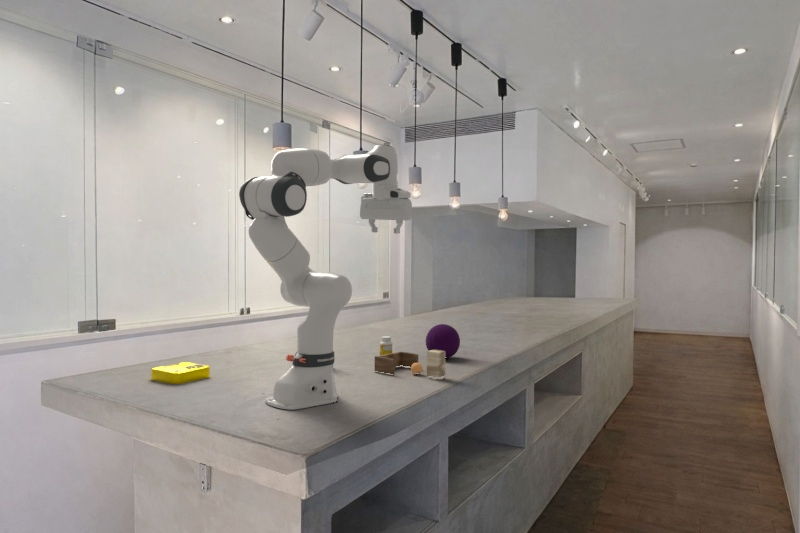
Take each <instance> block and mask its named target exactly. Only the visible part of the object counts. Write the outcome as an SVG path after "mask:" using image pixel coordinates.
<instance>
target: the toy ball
mask: <svg viewBox="0 0 800 533" xmlns="http://www.w3.org/2000/svg"><path fill="white" fill-rule="evenodd" d="M460 343H461V339H460V335H459V332H458V331H457V329H455V328H454V327H453V326H452V325H449V324H444V323H440V324H436V325H434V326H432V328H430V329H429V331H428V333H427V334H426V336H425V346H426V349H427V351H430V350H441V351H446V356H445V357H450V358H451V357H453V356H455V355H456V354H457V352H458V351H459V349H460V345H461V344H460Z"/></svg>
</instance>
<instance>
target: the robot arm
mask: <svg viewBox="0 0 800 533" xmlns="http://www.w3.org/2000/svg"><path fill="white" fill-rule="evenodd" d="M398 164H399V163H398V154H397V150H396V149H395V148H394V146H391V145H389V144H377V145H376V144H375V145H374V146H373V148H372V149H371V150H370V151H368V152H366V153H362V154H359V153H358V154H341V155H340V156H338V157H337V158H335V159H331V157H330V155H329V154H328V153H327V152H325V151H323V150H319V149H315V148H306V147H305V148H303V147H302V148H301V147H300V148H298V147H297V148H290V149H283V150H280V151H278V152H277V153H275V154H274V156H273V158H272V160H271V164H270V167H271V168H270V170H271V173H270V174H269V176H268V175H267V176H256V177H255V176H254V177H251V178H249V179H247V180H246V181H244V182H243V183H242V184H241V185H240V188H239V194H238V195H239V201H240V204H241V206H242V208H243V209H244V212H245V215H246V218H248V219H250V220H252V222H251V223H250V225H249V227H248V236H249V238H250V240H251V242H252V244H253V245H254V247H255V249H256V250H257V251H258V253H259V254H260V256H261V257H262V258H263V259H264V260H265V261H266V262H267V263H268V265H269V266H270V267H271V268H272V269H273V271H274V272H275V273H276V274H277V275H278V277H279V278H280V279H279V280H280V281H281V283H280V294H281V297H282V299H283V300H284V301H285V302H287V303H289V304H292V305H294V306H297V307H308V308H309V310H308V314H307V317H306V318H305V319H304V321H302V322H301V323H300V324H299V325H298V326H297V330H296V333H297V334H296V337H297V338H296V339H297V340H296V342H297V345H296V349H297V350H296V352H295V355H293V354H289V353H288V354H286V356H285V360H286V361H287V362H290V363H291V362H292V364H291V366H290V367H288V369H287V370H286V371H285V372H284V373H283V374H282V375H281V376H279V378H278V379H277V380H276V381H275V383H274V386H273V394H272V396H269V397H266V398H265V402H264V403H265V404H266V405H269V406H271V407H274V408H278V409H282V410H289V411H290V410H291V411H295V410H300V409H306V408H310V407H316V406H322V405H326V404H327V405H328V404H334V403H336V401H337V402H338V397H339V394H338V391H337V387H336V381H335V371H334V363H335V351H334V330H335V324H336V321H337V318H338V316H339V314H340V312H341V310H342V309H343V308H344V307H345V306H347V304H348V303H349V302H350V300H351V298H352V293H353V287H352V284H351V282H350V280H349V278H348V277H346V276H344V275H342V274H339V273H335V272H327V271H326V272H321V271H319V272H318V271H315V270H313V269H311V268H310V266H309V265H310V261H311V254H310V252H309V251H308V250H307V248H306V247H305V246H304V245H303V244H302V242H301V241H300V239H299V238H298V237H297V236H296V235H295V233H294V232H293V231H292V230H291V229H290V228H289V227H288V225H287V222H286V218H287V217H288V218H289V217H292V216H296V215H298V214H301V213H302V212H303V211H304V209H305V207H306V204H307V198H308V194H307V192H308V191H307V188H306V187H315V186H320V185H324V184H327V183H328V182H329V180H330V179H331V180H333V179H334V180H336V181H337V182H339V183H340V184H343V185H353V184H372V185H371V187H372V192H371V193H370V192H369V193H367V192H365V193H364V194H362V195H361V197H360V206H359V217H360V219H362V220H368V224H369V226H370V228H371V233H374V234H375V233H378V232H379V231H378V229H379V228H378V227H377V226H376V224H375V222H376V220H377V221H378V220H380V221H381V220H382V221H395V223H396V226H395V228H393V234H397V235H398V234H400V233H401V227H402V226H403V224H404V221H411V219H412V218H413V205H412V200H411V199H410V198H411V197H412V196H411V192H410V191H408V190H405V189H403V188H400V187H399V182H398V178H397V177H398V176H397V175H398V172H399V165H398ZM285 217H286V218H285ZM333 402H334V403H333Z"/></svg>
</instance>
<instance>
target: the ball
mask: <svg viewBox="0 0 800 533" xmlns="http://www.w3.org/2000/svg"><path fill="white" fill-rule="evenodd" d="M423 369H424V367H423V364H422V363H420V362H418V363H414V364H412V366H411V369H410V371H411V373H412V374H413V373H421V372H423ZM421 374H422V373H421Z"/></svg>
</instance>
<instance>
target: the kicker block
mask: <svg viewBox="0 0 800 533" xmlns="http://www.w3.org/2000/svg"><path fill="white" fill-rule="evenodd" d="M445 356H446V351H441V350H430V351H428V350H427V351H426V377H427V376H433V377H441V376H444V375H445V376H446V359H445Z"/></svg>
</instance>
